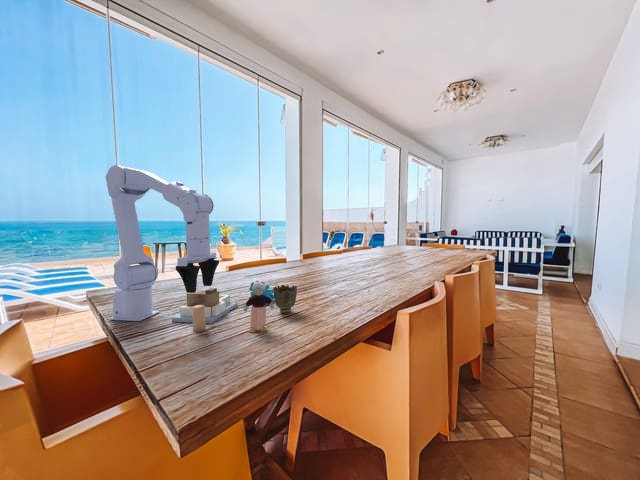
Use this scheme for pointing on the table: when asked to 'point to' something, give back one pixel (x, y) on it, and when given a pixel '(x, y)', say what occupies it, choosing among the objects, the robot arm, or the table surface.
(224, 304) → the jig
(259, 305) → the grandmother figurine
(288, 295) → the cup
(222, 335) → the table surface
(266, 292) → the blue white lumpy piece
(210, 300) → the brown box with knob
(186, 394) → the table surface
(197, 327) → the tail peg
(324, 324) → the table surface
